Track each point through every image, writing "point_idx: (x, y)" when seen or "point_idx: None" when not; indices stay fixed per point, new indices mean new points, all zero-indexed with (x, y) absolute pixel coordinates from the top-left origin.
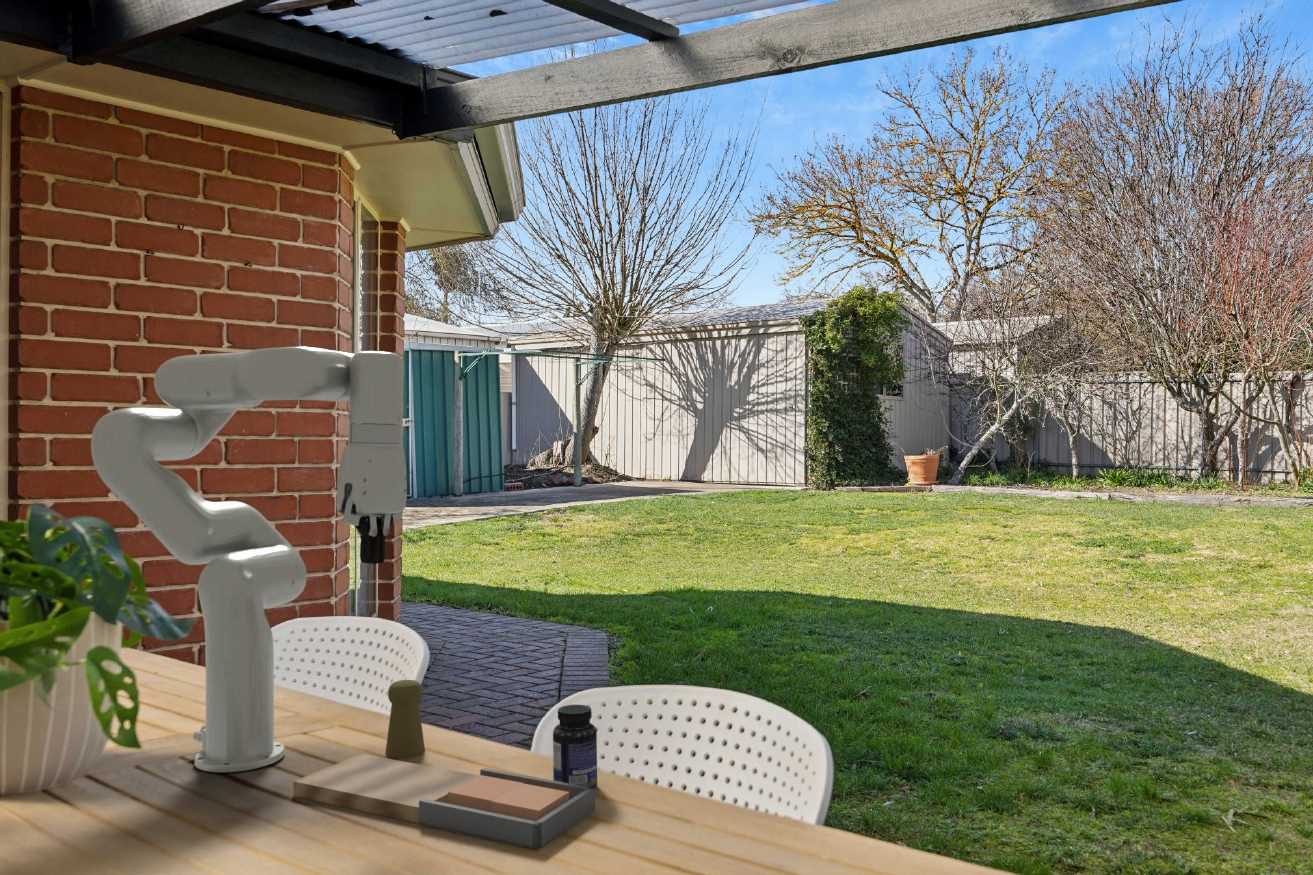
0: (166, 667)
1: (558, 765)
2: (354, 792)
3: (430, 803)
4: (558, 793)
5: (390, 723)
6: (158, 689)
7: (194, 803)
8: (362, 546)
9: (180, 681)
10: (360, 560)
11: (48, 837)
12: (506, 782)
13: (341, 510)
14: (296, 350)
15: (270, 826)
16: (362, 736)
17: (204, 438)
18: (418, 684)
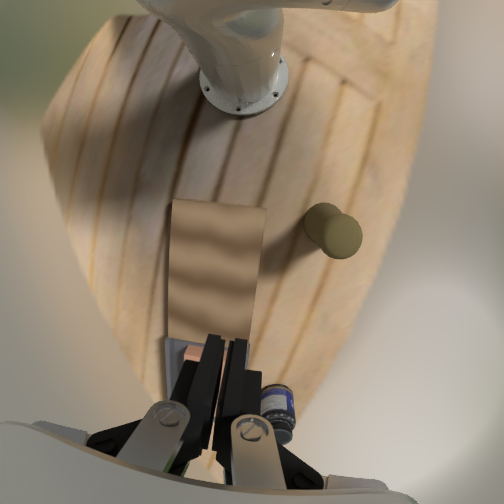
0: None
1: (261, 403)
2: (171, 271)
3: (165, 348)
4: (215, 413)
5: (316, 218)
6: None
7: (136, 130)
8: (177, 383)
9: None
10: (209, 333)
11: (67, 99)
12: (220, 382)
13: (27, 434)
14: None
15: (122, 228)
16: (355, 148)
17: None
18: (345, 257)
